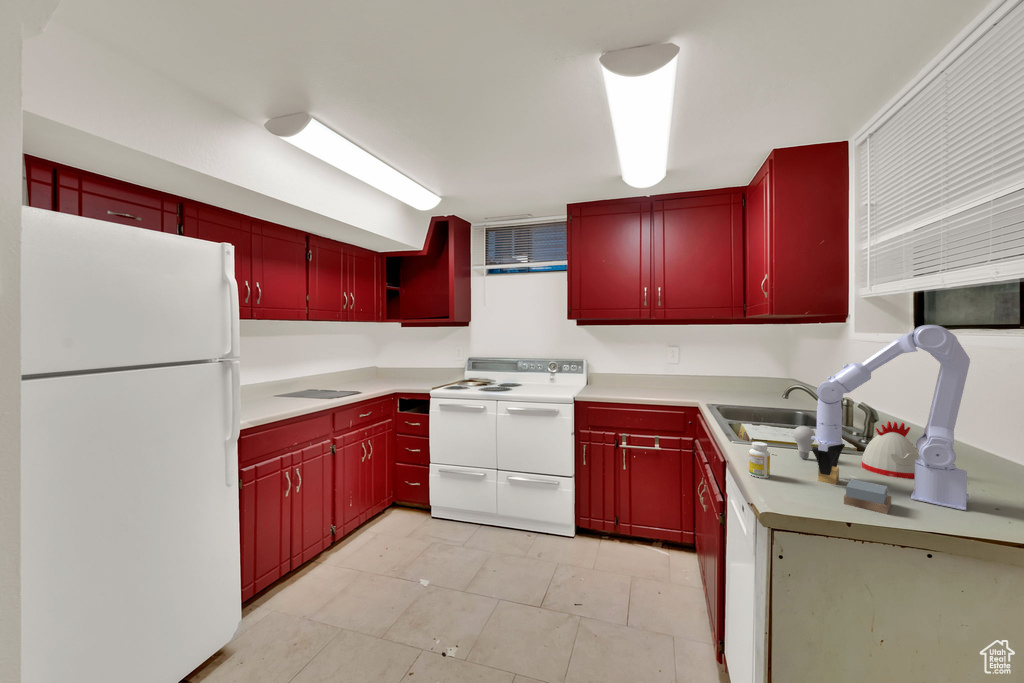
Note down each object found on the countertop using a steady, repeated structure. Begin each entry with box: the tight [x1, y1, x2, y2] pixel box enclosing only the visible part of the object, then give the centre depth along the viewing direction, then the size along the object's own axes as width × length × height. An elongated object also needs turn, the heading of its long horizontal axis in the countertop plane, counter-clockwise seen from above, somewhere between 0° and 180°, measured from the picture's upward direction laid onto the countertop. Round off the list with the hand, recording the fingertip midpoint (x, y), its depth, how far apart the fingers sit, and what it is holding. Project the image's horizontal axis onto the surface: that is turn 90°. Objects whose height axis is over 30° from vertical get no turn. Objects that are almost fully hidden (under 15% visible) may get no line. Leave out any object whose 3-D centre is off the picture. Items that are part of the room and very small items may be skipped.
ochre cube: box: [817, 466, 840, 486], centre depth 119 cm, size 4×4×4 cm
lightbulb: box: [792, 425, 816, 460], centre depth 138 cm, size 6×6×11 cm
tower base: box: [843, 493, 892, 515], centre depth 103 cm, size 8×8×2 cm
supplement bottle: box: [748, 441, 771, 479], centre depth 124 cm, size 5×5×10 cm
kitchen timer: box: [861, 420, 920, 480], centre depth 126 cm, size 14×14×15 cm
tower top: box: [845, 478, 888, 505], centre depth 103 cm, size 7×7×2 cm
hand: (828, 470), depth 119 cm, fingers open, 7 cm apart
